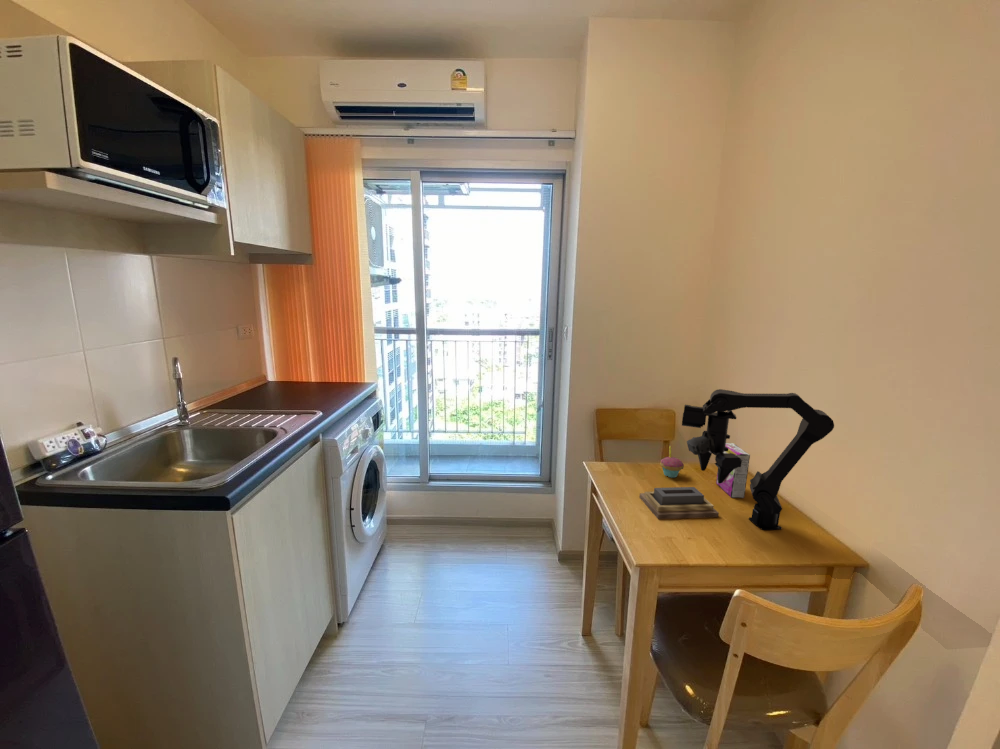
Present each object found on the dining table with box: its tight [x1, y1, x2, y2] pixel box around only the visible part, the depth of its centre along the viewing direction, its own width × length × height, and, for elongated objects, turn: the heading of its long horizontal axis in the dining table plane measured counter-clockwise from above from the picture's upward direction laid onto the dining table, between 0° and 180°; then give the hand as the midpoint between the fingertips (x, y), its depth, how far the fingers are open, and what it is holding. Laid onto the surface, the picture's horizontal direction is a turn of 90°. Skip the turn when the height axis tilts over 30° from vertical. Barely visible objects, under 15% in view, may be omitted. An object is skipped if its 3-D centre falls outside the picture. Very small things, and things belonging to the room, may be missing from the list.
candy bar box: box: [715, 442, 751, 499], centre depth 148 cm, size 11×5×16 cm, turn 179°
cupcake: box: [659, 445, 685, 478], centre depth 161 cm, size 9×8×12 cm
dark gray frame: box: [653, 486, 705, 505], centre depth 137 cm, size 14×6×4 cm, turn 94°
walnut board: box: [639, 491, 720, 520], centre depth 137 cm, size 20×14×3 cm
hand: (711, 476), depth 132 cm, fingers open, 9 cm apart
